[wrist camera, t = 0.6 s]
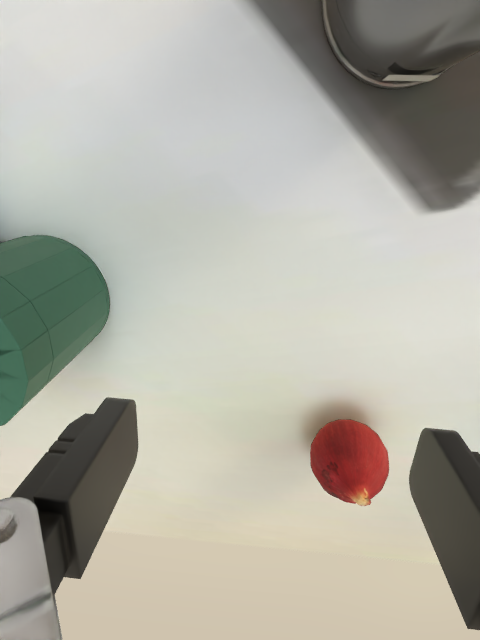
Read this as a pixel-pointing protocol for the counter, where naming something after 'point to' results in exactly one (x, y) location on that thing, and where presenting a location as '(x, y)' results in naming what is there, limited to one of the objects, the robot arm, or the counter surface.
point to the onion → (349, 461)
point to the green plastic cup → (44, 314)
